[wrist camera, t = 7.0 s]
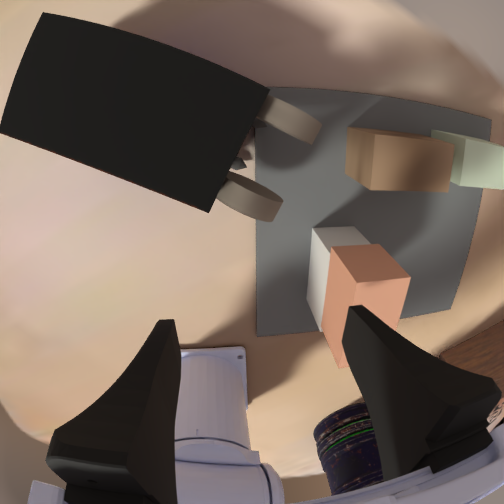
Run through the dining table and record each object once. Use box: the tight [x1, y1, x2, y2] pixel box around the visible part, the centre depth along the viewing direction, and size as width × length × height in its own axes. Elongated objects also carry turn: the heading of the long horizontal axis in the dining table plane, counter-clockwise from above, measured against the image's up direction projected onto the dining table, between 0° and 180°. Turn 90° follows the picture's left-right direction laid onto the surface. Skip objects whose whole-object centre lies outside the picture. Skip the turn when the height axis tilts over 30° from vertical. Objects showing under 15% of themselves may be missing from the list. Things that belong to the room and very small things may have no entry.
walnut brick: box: [345, 127, 455, 193], centre depth 18 cm, size 6×3×4 cm, turn 90°
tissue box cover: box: [439, 320, 504, 433], centre depth 33 cm, size 26×14×10 cm, turn 15°
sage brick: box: [431, 129, 504, 190], centre depth 19 cm, size 6×3×4 cm, turn 91°
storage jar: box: [313, 403, 384, 496], centre depth 29 cm, size 10×10×15 cm
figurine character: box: [0, 12, 322, 222], centre depth 15 cm, size 7×8×15 cm
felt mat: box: [255, 87, 491, 337], centre depth 23 cm, size 19×20×1 cm
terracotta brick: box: [321, 244, 411, 368], centre depth 18 cm, size 6×3×4 cm, turn 0°
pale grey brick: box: [306, 226, 371, 332], centre depth 22 cm, size 6×3×4 cm, turn 0°
